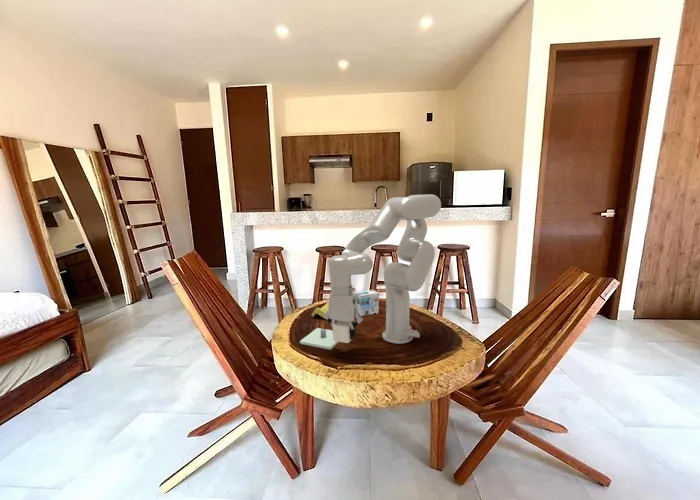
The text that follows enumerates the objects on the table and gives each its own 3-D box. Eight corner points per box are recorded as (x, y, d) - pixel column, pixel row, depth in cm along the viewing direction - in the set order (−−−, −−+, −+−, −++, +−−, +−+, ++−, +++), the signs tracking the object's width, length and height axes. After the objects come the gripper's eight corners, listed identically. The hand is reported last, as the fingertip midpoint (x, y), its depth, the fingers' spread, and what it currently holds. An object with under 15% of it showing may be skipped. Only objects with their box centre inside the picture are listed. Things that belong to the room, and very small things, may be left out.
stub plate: (345, 335, 130) (345, 326, 130) (330, 349, 118) (330, 340, 117) (317, 330, 136) (317, 321, 135) (299, 343, 123) (299, 334, 123)
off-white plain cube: (354, 335, 114) (354, 320, 113) (348, 343, 109) (347, 327, 108) (340, 333, 117) (339, 318, 116) (333, 340, 111) (332, 325, 110)
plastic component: (331, 317, 145) (314, 306, 148) (326, 328, 148) (309, 317, 151) (349, 301, 162) (333, 291, 165) (344, 312, 165) (329, 302, 168)
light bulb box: (360, 316, 151) (360, 295, 149) (354, 312, 157) (354, 292, 155) (379, 313, 155) (379, 292, 153) (373, 308, 161) (373, 289, 159)
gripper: (367, 288, 109) (369, 335, 113) (325, 285, 116) (328, 329, 120) (359, 295, 103) (362, 344, 106) (315, 291, 110) (318, 337, 113)
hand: (344, 336), depth 113 cm, fingers closed on off-white plain cube, 6 cm apart
